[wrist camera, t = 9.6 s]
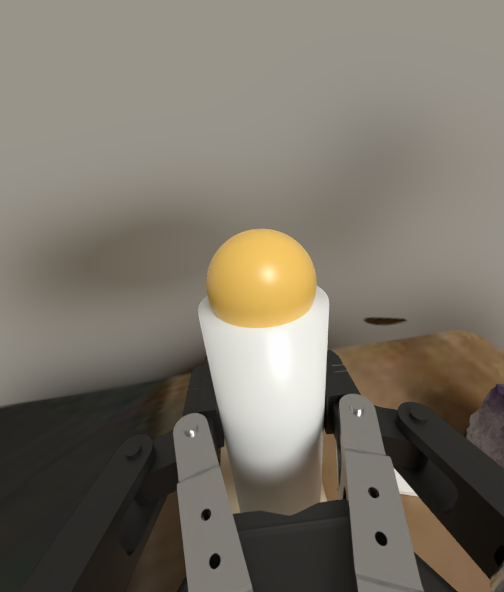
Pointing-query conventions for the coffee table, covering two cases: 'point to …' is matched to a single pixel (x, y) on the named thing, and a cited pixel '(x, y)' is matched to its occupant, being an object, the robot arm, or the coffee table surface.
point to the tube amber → (268, 367)
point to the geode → (489, 425)
